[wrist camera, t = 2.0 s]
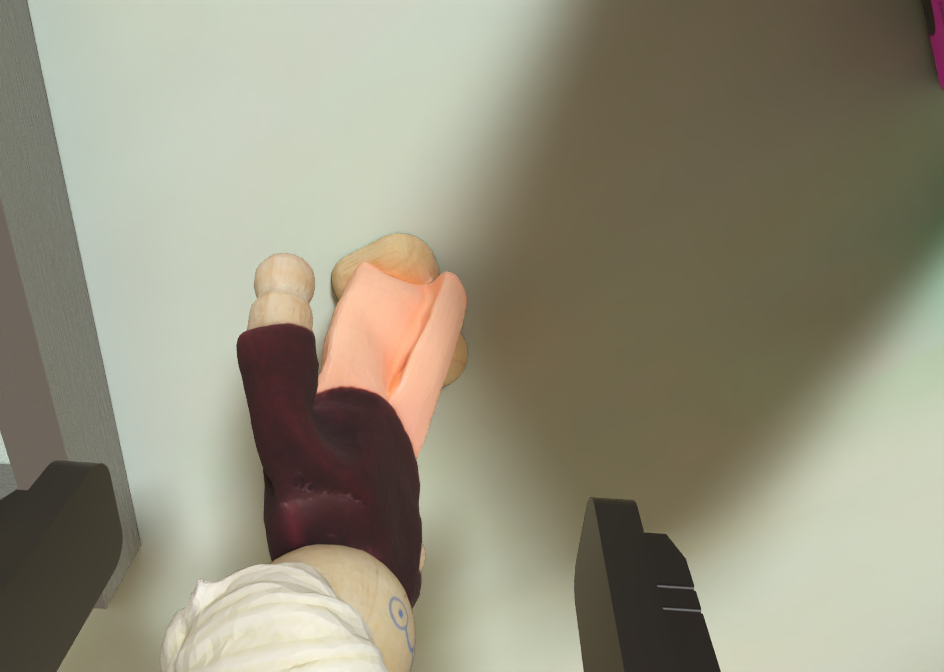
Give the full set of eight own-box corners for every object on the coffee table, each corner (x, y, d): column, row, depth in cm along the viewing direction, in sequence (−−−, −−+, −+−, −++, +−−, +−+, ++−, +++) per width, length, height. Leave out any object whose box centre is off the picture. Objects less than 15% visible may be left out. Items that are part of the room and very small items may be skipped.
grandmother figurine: (524, 383, 20) (567, 932, 9) (402, 430, 21) (310, 984, 10) (389, 129, 17) (209, 524, 6) (250, 198, 18) (-126, 652, 7)
